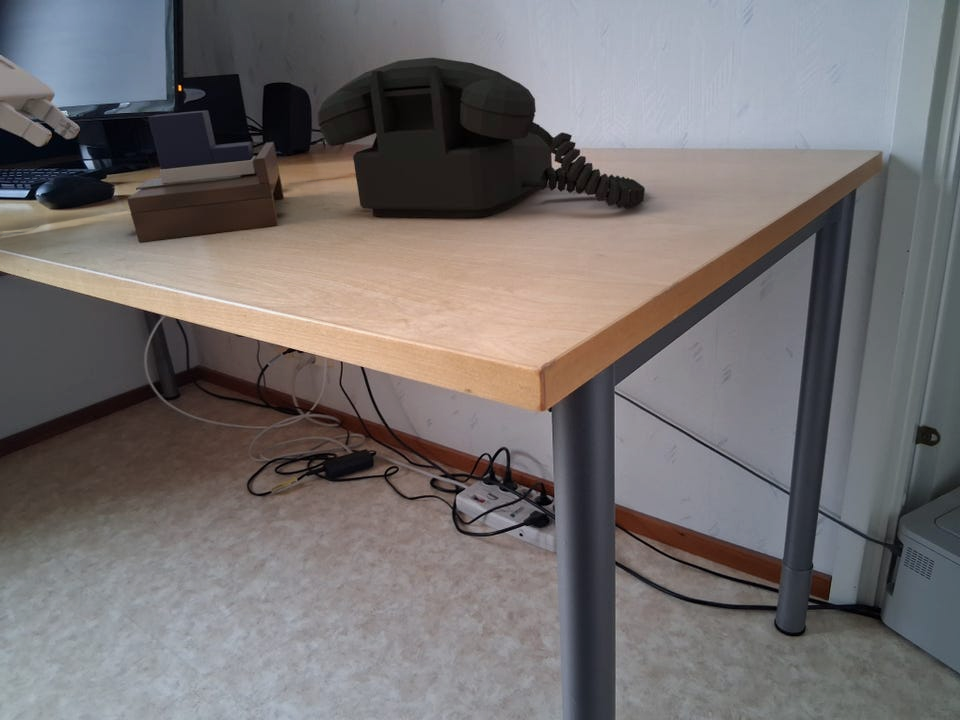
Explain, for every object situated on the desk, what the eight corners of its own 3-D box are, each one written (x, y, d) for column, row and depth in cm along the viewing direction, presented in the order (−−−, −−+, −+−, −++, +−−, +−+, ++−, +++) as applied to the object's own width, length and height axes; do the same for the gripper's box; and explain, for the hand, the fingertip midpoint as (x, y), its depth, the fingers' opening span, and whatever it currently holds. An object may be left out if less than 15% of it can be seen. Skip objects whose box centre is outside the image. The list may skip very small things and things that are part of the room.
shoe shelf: (133, 243, 71) (114, 173, 69) (169, 210, 89) (155, 153, 87) (277, 225, 74) (264, 157, 71) (284, 196, 92) (273, 141, 89)
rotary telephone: (672, 181, 79) (676, 37, 73) (626, 225, 61) (626, 38, 55) (417, 184, 93) (404, 62, 87) (320, 219, 75) (294, 70, 69)
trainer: (162, 183, 77) (145, 117, 74) (170, 178, 81) (155, 115, 79) (255, 173, 79) (242, 108, 76) (258, 168, 83) (245, 106, 80)
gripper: (-42, 72, 79) (75, 151, 85) (-150, 70, 61) (10, 172, 67) (-14, 26, 79) (103, 109, 84) (-114, 10, 60) (45, 118, 66)
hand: (62, 137), depth 75 cm, fingers open, 8 cm apart
